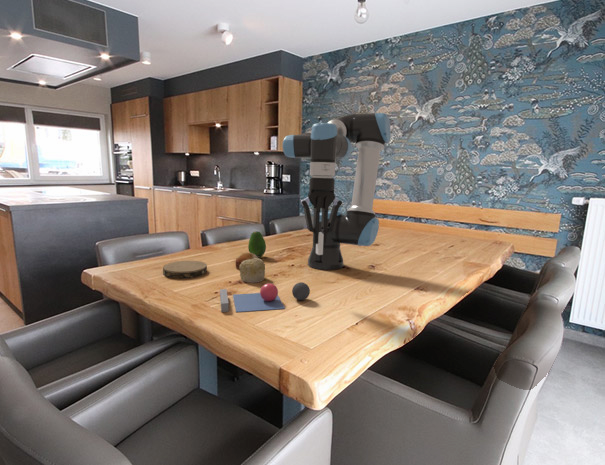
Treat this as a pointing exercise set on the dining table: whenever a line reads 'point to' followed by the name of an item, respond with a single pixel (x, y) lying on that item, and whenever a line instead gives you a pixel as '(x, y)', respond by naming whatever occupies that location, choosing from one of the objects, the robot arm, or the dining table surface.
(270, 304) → the blue flat square slab
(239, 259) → the bread roll
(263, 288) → the red object ball
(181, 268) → the round stone disc
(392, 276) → the dining table surface
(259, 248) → the fruit
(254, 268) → the coral
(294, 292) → the dark gray ball
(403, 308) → the dining table surface
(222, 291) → the wall
